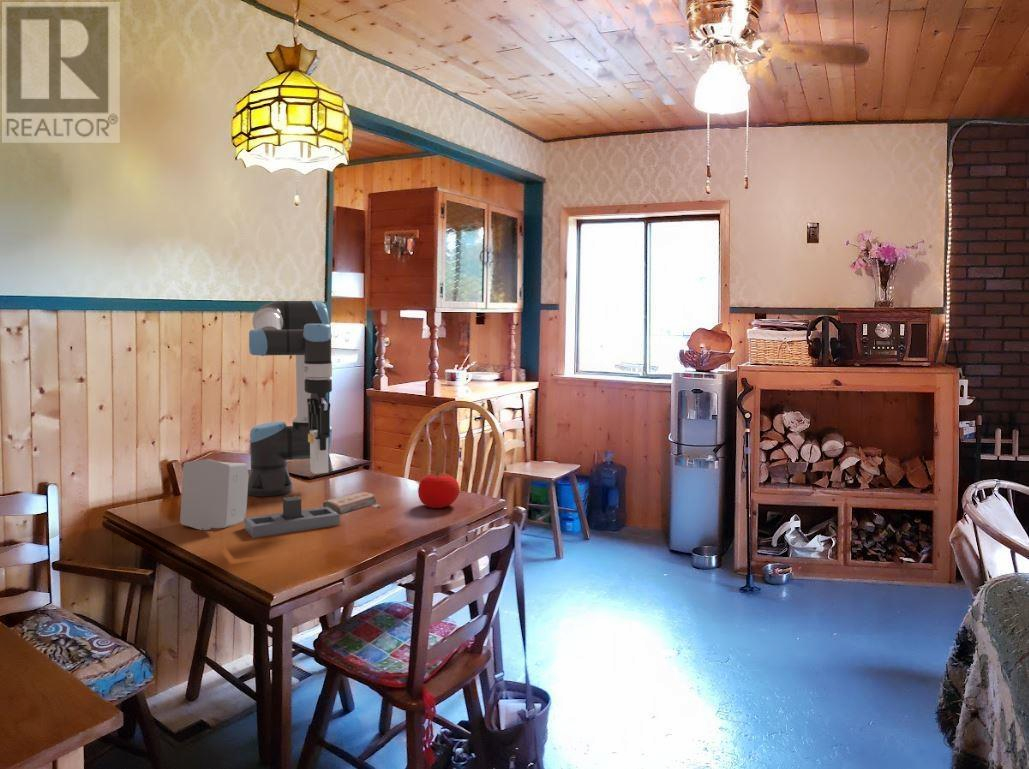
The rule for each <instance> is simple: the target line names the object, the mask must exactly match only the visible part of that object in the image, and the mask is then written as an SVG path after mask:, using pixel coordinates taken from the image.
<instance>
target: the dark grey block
mask: <svg viewBox="0 0 1029 769" xmlns="http://www.w3.org/2000/svg"><path fill="white" fill-rule="evenodd" d="M301 510H302V499H301V498H300V497H299V496H291V497H288V496H287V497H283V498H282V513H283V518H284V519H285V520H288V519H295V518H301Z"/></svg>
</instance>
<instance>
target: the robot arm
mask: <svg viewBox="0 0 1029 769" xmlns="http://www.w3.org/2000/svg"><path fill="white" fill-rule="evenodd" d="M329 317H330V316H329V312H328V308H327V305H326V303H324V302H322V301H314V300H309V301H308V300H277V301H272V302H269V303H266V304H263V305H262V306H260V307H259V308H258V309H256V311H254V314H253V316H252V322H251V323H252V326H253V329H251V330H249V332H248V347H249V354H250V355H252V356H261V357H264V356H295V381H296V389H295V390H296V391H295V392H296V416H295V417H294V418H293V419H292V425H287V424H286V422H285V421H272V422H266V423H261V424H258V425H255V426H254V427H252V428H251V429H250V432H249V434H250V435H249V443H250V444H249V445H250V452H249V453H250V472H249V473H248V492H247V496H252V497H274V496H275V497H276V496H281V495H285V494H289V493H291V492H292V491H293V482H292V480H291V477H290V473H289V470H288V467H287V466H288V464H287V461H296V460H297V461H299V460H310V443H309V442H308V434H309V433H310V430H317V433H318V437H315V439H317V462H321V461H327V437H328V455H330V450H331V446H332V437H333V433H332V432H333V427H332V426H333V425H331V422H330V421H331V420H330V416H331V415H330V413H331V412H330V410H331V402H328V398H327V395H326V394H327V393H331V392H332V391H333V382H332V381H333V380H332V378H331V377H332V376H333V366H332V365H333V363H332V336H333V335H332V328H331V325H330V318H329Z"/></svg>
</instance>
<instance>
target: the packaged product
mask: <svg viewBox="0 0 1029 769" xmlns="http://www.w3.org/2000/svg"><path fill="white" fill-rule="evenodd" d="M322 505H323V506H322V507H329V508H331V509H332V510H334V511H335V512H336V513H338V514H339V515H341V514H344V513H345V514H346V513H349V512H352V511H357V510H359V509H364V508H367V507H370V506H372V507H374V508H375V509H378V508H377V507H379V508H381V506H382V505H381V504H378V503H377V499H376V496H375V494H373V493H370V492H366V491H359V492H356V493H351V494H347V495H343V496H339V497H335V498H331V499H327V500H324V501H323V503H322Z"/></svg>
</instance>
